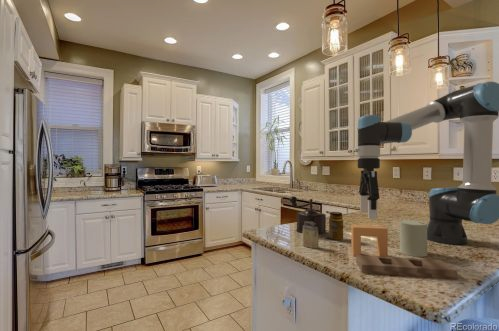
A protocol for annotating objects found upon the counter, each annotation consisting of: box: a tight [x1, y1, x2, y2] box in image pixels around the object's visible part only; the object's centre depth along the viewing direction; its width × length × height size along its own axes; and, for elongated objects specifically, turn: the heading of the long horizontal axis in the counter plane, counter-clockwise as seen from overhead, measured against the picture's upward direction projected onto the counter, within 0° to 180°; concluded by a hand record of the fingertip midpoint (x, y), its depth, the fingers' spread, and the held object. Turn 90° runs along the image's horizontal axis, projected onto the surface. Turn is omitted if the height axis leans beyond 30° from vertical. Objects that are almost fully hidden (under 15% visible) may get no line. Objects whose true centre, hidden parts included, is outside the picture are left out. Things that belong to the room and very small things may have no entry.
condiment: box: [322, 211, 348, 243], centre depth 121 cm, size 7×8×12 cm
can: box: [399, 219, 429, 258], centre depth 102 cm, size 9×9×12 cm
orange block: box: [350, 224, 389, 257], centre depth 99 cm, size 12×4×10 cm, turn 79°
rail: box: [355, 254, 458, 280], centre depth 85 cm, size 26×9×2 cm, turn 79°
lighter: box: [302, 221, 319, 249], centre depth 110 cm, size 7×4×10 cm, turn 42°
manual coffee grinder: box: [288, 195, 327, 235], centre depth 133 cm, size 16×11×18 cm
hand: (368, 215), depth 99 cm, fingers open, 13 cm apart
